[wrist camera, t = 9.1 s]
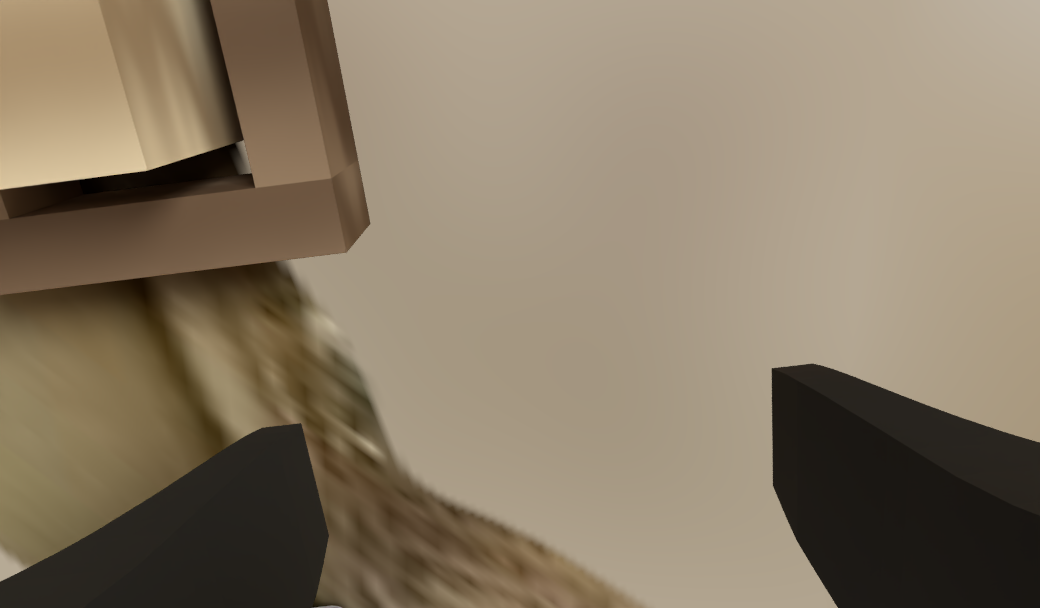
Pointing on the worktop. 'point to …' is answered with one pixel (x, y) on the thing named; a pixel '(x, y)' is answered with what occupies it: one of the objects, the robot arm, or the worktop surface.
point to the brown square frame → (217, 201)
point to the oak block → (109, 88)
